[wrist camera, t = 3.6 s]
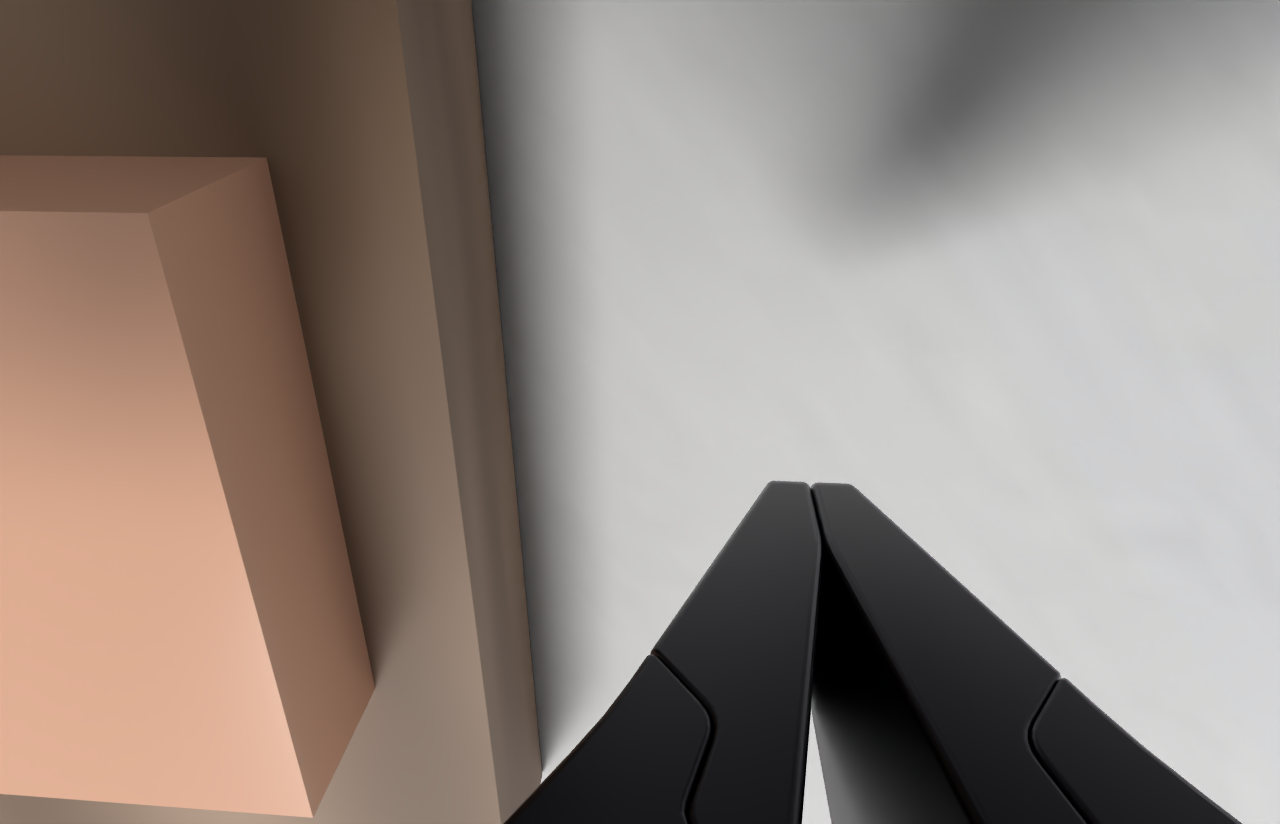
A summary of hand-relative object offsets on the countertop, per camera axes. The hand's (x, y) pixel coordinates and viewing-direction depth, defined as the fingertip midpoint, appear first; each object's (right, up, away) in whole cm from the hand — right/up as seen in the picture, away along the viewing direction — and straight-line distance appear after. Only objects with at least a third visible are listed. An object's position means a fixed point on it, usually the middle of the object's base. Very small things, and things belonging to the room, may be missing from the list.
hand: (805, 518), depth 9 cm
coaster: (-9, +1, +1) cm, 9 cm away
